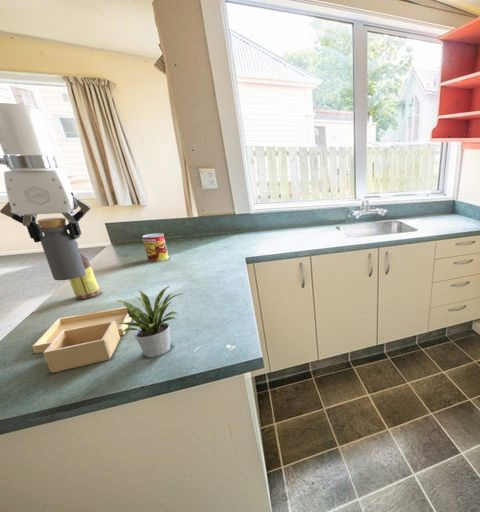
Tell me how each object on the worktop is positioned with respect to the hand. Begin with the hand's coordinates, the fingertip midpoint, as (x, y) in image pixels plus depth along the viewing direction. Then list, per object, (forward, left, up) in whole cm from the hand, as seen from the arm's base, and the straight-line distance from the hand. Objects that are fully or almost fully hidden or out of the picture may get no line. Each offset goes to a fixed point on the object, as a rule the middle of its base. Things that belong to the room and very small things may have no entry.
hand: (58, 238), depth 73 cm
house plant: (+19, -18, -27) cm, 38 cm away
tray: (0, +2, -27) cm, 27 cm away
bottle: (0, 0, -10) cm, 10 cm away
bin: (+3, -12, -27) cm, 30 cm away
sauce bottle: (-8, +31, -27) cm, 42 cm away
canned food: (+8, +68, -27) cm, 74 cm away
